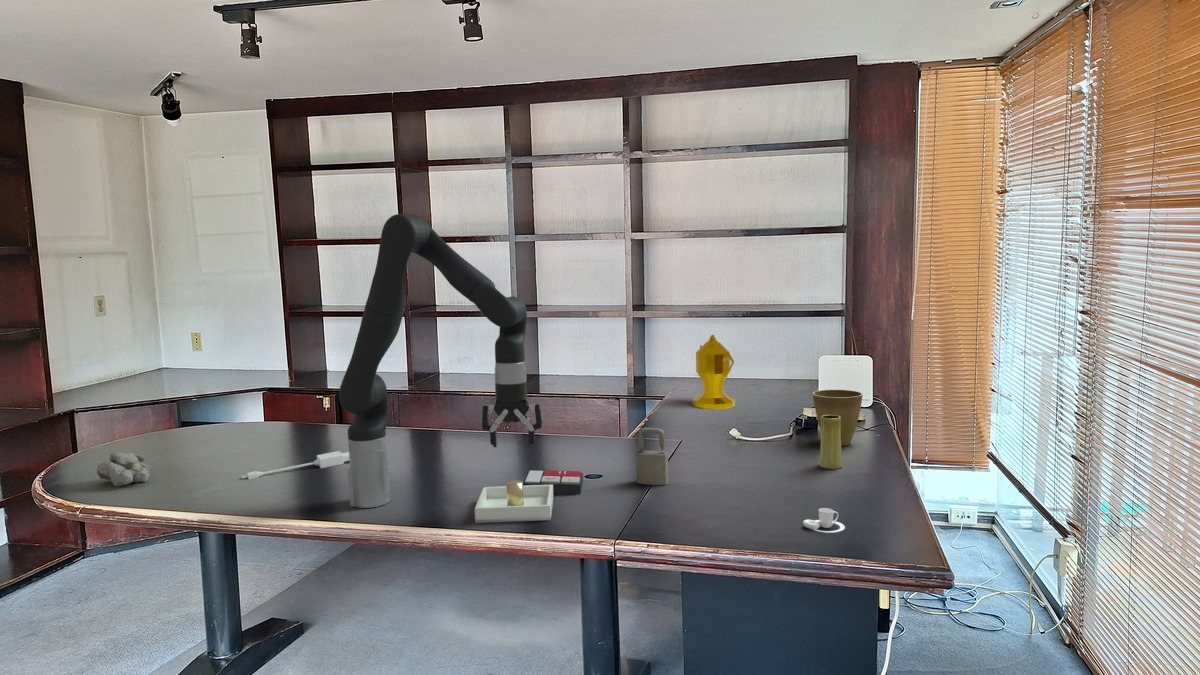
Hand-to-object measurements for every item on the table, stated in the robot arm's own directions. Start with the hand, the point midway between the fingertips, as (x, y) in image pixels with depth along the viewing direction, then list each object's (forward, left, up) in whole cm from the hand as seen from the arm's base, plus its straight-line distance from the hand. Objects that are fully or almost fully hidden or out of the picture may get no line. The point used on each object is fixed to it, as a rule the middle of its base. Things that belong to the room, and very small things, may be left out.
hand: (512, 446), depth 188 cm
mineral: (-116, +37, -16) cm, 123 cm away
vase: (+86, +27, -16) cm, 92 cm away
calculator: (+9, +16, -17) cm, 25 cm away
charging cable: (-68, +45, -17) cm, 83 cm away
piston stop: (0, 0, -15) cm, 15 cm away
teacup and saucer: (+69, -17, -17) cm, 73 cm away
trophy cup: (+69, +119, -16) cm, 138 cm away
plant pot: (+96, +52, -16) cm, 110 cm away
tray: (0, 0, -16) cm, 16 cm away
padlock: (+35, +18, -16) cm, 43 cm away
